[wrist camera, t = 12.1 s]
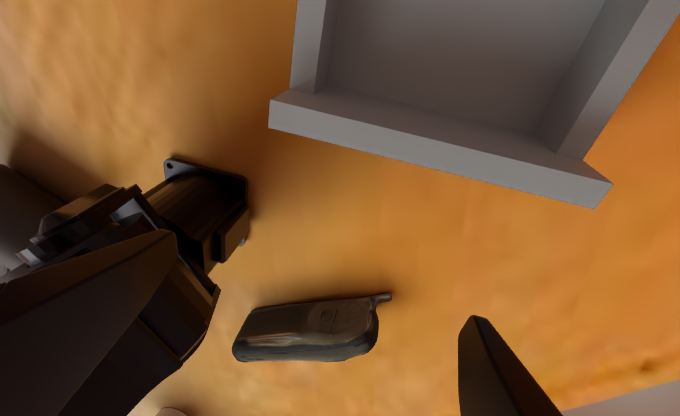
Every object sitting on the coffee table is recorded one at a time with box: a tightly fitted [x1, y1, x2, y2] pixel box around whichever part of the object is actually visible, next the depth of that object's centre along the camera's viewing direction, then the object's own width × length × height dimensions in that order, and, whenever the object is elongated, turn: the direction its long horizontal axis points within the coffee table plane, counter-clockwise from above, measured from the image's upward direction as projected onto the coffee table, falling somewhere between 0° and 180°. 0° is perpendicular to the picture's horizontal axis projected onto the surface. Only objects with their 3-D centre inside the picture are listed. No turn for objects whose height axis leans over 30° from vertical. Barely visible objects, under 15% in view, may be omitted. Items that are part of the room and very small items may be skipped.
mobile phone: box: [232, 293, 392, 362], centre depth 27 cm, size 5×3×15 cm
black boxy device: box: [0, 164, 67, 277], centre depth 26 cm, size 10×7×7 cm
